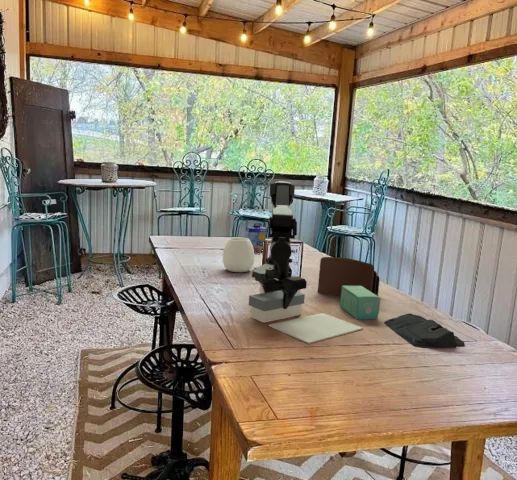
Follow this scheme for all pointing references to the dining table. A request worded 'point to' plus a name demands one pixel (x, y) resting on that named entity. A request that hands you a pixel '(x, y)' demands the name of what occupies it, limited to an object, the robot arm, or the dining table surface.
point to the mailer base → (275, 313)
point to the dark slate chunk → (423, 332)
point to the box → (360, 302)
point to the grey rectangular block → (273, 300)
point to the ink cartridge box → (256, 236)
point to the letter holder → (346, 275)
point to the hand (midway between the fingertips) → (276, 305)
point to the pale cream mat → (315, 327)
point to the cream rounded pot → (238, 254)
